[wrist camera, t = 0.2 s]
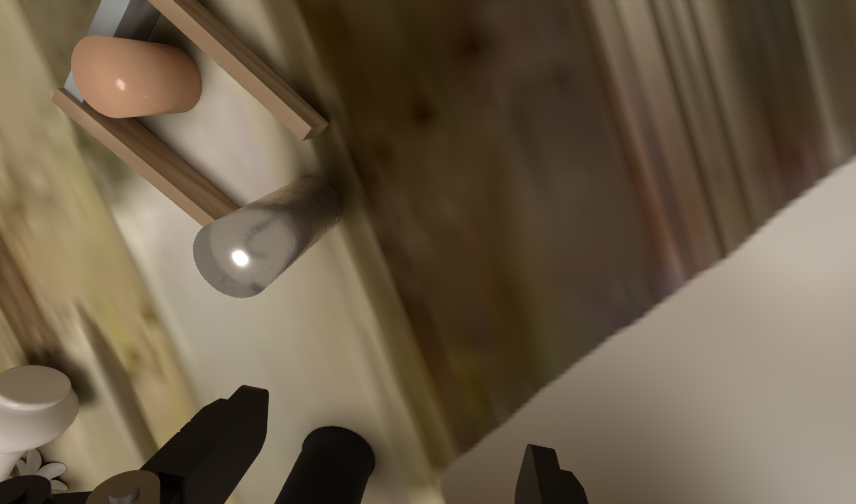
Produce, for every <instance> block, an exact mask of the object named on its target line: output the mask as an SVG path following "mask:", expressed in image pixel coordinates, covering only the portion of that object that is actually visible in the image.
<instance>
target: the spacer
mask: <svg viewBox="0 0 856 504" xmlns="http://www.w3.org/2000/svg"><path fill="white" fill-rule="evenodd" d="M71 70H72V75H73V79H74V82H75V84H76V87H77V89H78V91H79V92H80V94H81V95H82V97H83V98H84V99H85V101H86V102H87V103H88V104H89V105H90V106H91V107H92V108H94V109H95V110H96V111H98V112H99V113H101V114H103V115H105V116H108V117H112V118H126V117H137V116H149V115H160V114H171V113H182V112H187V111H189V110H191V109H192V108H193V107H194V106H195V105H196V104H197V103H198V101H199V99H200V96H201V91H202V83H201V77H200V73H199V71H198V68H197V67H196V65H195V63H194V61H193V60H192V59H191V58H190V56H189V55H188V54H187V53H185V52H184V51H183V50H182V49H180V48H178V47H176V46H174V45H170V44H163V43H155V42H148V41H140V40H132V39H124V38H116V37H108V36H101V35H92V36H88V37H85V38H83V39H82V40H81V41H80V42H78V44H77V45H76V47H75V48H74V51H73V53H72V58H71Z"/></svg>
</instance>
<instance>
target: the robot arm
mask: <svg viewBox="0 0 856 504" xmlns="http://www.w3.org/2000/svg"><path fill="white" fill-rule="evenodd" d="M268 403H269V392H268V390H266V389H262V388H257V387H252V386H247V385H242V386H241V387H239V388H238V389H237V391H236V392H235V393H234V394H233V395H232V396H231V397H230V398H229V399H228V400H227V399H222V398H220V399H218V400H216V401H214V402H212V403H211V404H209V405H207V406H205V407H203V408H202V409H201V410H200V411H199V412H198V413H197V414H196V415H195V416H194V417H193V418H192V419H191V421H190V422H188V423H187V424H186V425H185V426H184V427H182V428H181V429H180V432H177V433H176V434H175V435H174V436H173V437H172V438H171V439H170V440H169V441H168V442H167V443H166V444H165V445H164V446H163V447H162V448H161V449H160V450H159V451H158V452H157V453H156V454H155V455H154V456H153V457H152V458H151V459H150V460H148V461H147V462H146V463H145V464H144V465H143V466H142V467H141V468H140V469H139V470H133V471H127V472H124V473H120V474H118V475H115V476H113V477H111V478H109V479H107V480H106V481H104V482H102V483H101V484H100V485H98V486H97V487H96V488H95V489H94V490H93V491H88V492H74V493H59V494H52V488H51V483H50V481H49V480H48V479H47V478H45V477H43V476H40V475H24V476H18V477H14V478H10V479H7V480H4V481H2V482H0V504H224V503H225V502H226V500H227V499H228V497H229V496H230V494H231V493H232V492H233V490H234V489H235V487H236V486H237V484H238V483H239V482H240V480H241V479H242V477H243V476H244V474H245V473H246V471H247V470H248V469H249V467H250V466H251V464H252V463H253V461H254V460H255V459H256V457H257V456H258V454H259V453H260V451H261V449H262V447H263V444H264V441H265V438H266V433H267V420H268ZM515 504H588V501H587V497H586V494H585V491H584V488H583V487H582V485H581V484H580V483H579V481H578V480H577V478H576V477H575V476H574V475H573V473H572V472H570V471H565V470H561V469H560V467H559V463H558V459H557V456H556V452H555V450H554V449H552V448H547V447H542V446H537V445H532V444H528V445H527V447H526V450H525V454H524V458H523V462H522V466H521V470H520V474H519V477H518V481H517V485H516V492H515Z"/></svg>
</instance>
